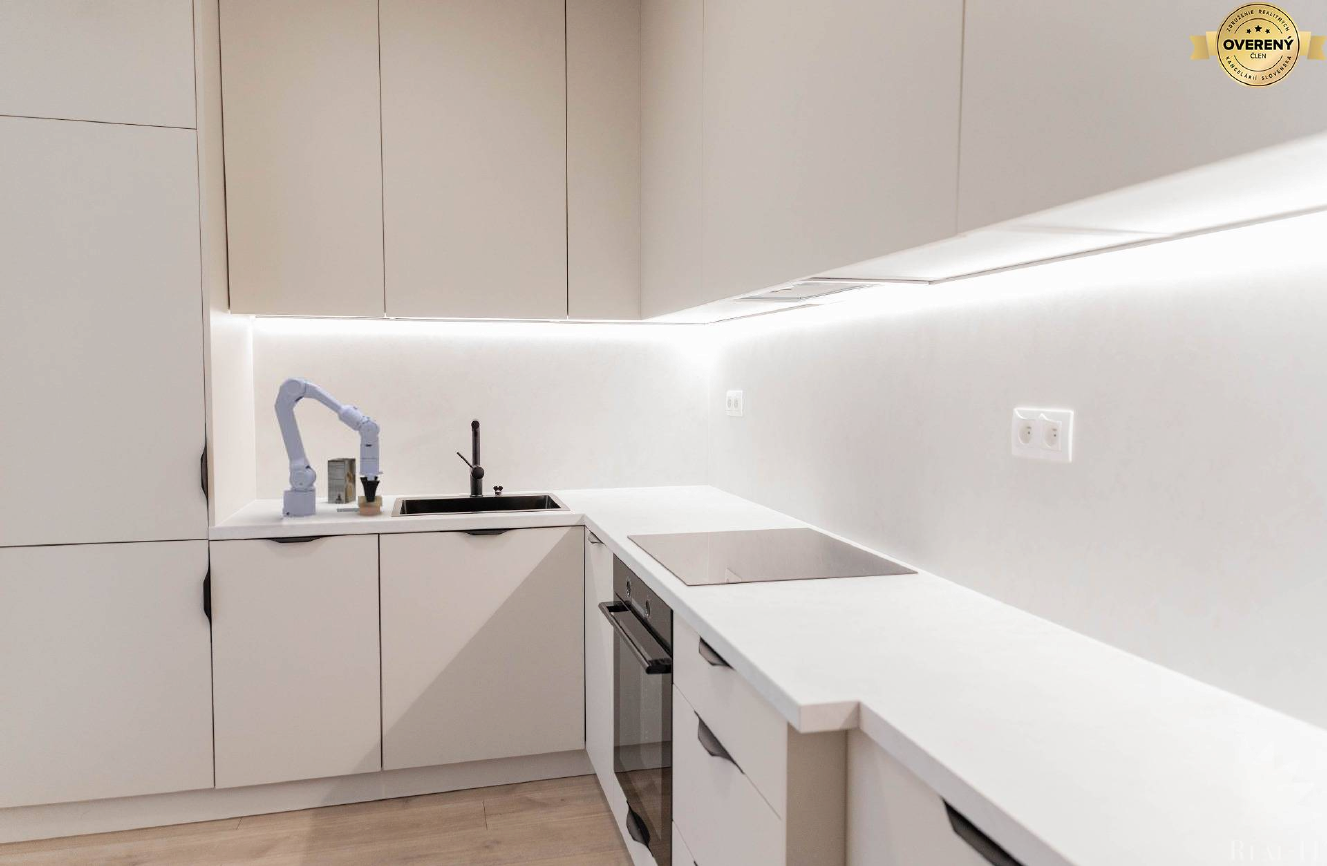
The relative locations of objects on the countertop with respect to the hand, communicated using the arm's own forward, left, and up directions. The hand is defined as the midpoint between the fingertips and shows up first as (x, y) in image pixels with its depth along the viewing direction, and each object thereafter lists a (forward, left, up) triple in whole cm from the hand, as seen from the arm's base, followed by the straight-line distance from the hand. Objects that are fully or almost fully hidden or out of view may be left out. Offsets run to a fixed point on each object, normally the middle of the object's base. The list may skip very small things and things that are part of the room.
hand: (369, 500), depth 261 cm
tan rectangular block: (0, 0, -2) cm, 2 cm away
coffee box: (-8, +28, -6) cm, 29 cm away
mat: (-5, +8, -5) cm, 11 cm away
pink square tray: (0, 0, -5) cm, 5 cm away
